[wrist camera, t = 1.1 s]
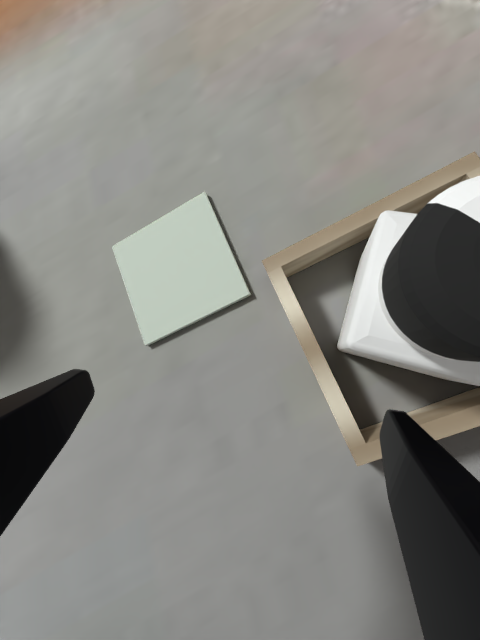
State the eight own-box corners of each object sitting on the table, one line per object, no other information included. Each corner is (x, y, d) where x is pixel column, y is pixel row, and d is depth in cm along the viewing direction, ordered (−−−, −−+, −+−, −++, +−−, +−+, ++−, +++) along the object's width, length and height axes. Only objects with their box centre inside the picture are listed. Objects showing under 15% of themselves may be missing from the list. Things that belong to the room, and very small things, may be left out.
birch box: (581, 370, 16) (637, 373, 14) (351, 449, 19) (357, 466, 16) (451, 181, 19) (474, 151, 17) (268, 272, 22) (261, 260, 19)
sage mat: (251, 295, 22) (249, 293, 22) (148, 345, 24) (144, 345, 24) (206, 194, 24) (204, 191, 24) (115, 248, 26) (111, 246, 26)
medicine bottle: (448, 380, 18) (676, 425, 7) (335, 350, 20) (359, 343, 9) (473, 275, 18) (733, 144, 7) (360, 255, 20) (415, 129, 9)
